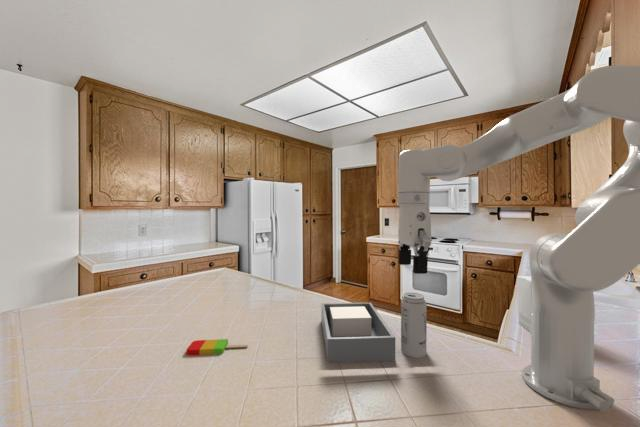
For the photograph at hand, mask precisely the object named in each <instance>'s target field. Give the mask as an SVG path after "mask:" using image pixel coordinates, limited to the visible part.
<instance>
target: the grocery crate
mask: <svg viewBox="0 0 640 427" xmlns="http://www.w3.org/2000/svg"><path fill="white" fill-rule="evenodd" d="M360 306H365V308H366V310H367V311H368V313H369V315H370V316H371V335H365V336H333V335H332V331H331V326H330V307H360ZM321 326H322V333H323V340H324V349H325V355H326V360H327V364H335V363H342V364H343V363H365V362H366V363H369V362H370V363H372V362H395V361H396V336H395V335H394V333H393V331H391V329H390V328H389V326H388V325H387V323H386V322H385V321H384V319H383V318H382V316H381V315H380V313H379V312H378V311H377V309H376V308H375V307H374V305H373V303H372V302H331V303H330V302H329V303H321Z"/></svg>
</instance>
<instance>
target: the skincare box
mask: <svg viewBox="0 0 640 427" xmlns="http://www.w3.org/2000/svg"><path fill="white" fill-rule="evenodd" d="M516 278H517V279H516V280H517V281H516V282H517V308H518V324H519V325H520V326H521V327H523V328H524V329H526V330H527V331H528V332H529V333H531V331H532V282H531V275H529V276H528V275H518V276H516Z"/></svg>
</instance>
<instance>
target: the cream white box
mask: <svg viewBox="0 0 640 427" xmlns="http://www.w3.org/2000/svg"><path fill="white" fill-rule="evenodd" d="M330 326H331V331H332V335H333V336H365V335H371V316H370V315H369V313H368V311H367V310H366V308H365V306H360V307H330Z"/></svg>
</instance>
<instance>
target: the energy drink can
mask: <svg viewBox="0 0 640 427" xmlns="http://www.w3.org/2000/svg"><path fill="white" fill-rule="evenodd" d="M400 301H401V303H400V312H401V313H400V336H401V337H400V350H401V353H403V355H405V356H407V357H412V358H417V359H419V358H425V356H427V331H428V329H427V322H428V320H427V319H428V318H427V313H428V311H427V302H426V300H425V296H424V295H423V294H420V293H418V292H405V293H404V294H403V297H402V298H401V300H400Z"/></svg>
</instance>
